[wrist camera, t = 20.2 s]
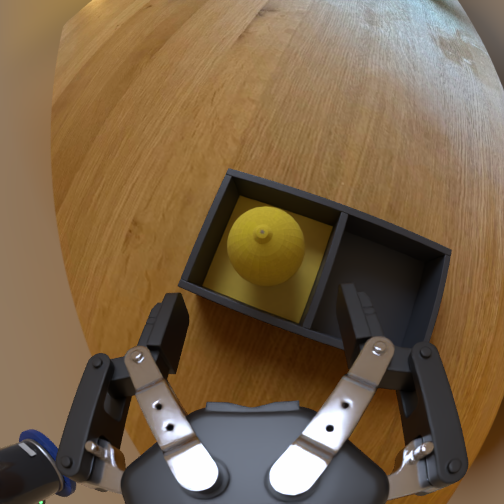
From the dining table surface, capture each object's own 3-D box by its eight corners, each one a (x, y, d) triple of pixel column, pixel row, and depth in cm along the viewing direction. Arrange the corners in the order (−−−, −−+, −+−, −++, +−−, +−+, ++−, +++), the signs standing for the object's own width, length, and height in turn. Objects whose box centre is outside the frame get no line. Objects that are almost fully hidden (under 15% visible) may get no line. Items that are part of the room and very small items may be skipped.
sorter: (397, 363, 22) (418, 372, 17) (195, 290, 25) (177, 286, 21) (428, 259, 23) (451, 249, 19) (237, 190, 27) (228, 167, 22)
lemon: (315, 259, 24) (329, 235, 16) (266, 303, 23) (257, 300, 16) (271, 214, 25) (265, 172, 17) (224, 255, 25) (197, 230, 17)
